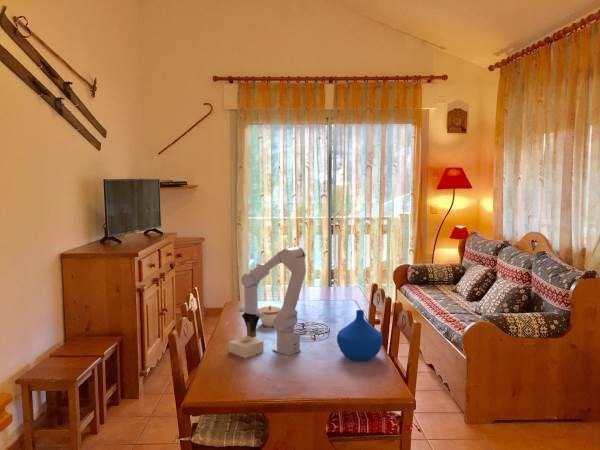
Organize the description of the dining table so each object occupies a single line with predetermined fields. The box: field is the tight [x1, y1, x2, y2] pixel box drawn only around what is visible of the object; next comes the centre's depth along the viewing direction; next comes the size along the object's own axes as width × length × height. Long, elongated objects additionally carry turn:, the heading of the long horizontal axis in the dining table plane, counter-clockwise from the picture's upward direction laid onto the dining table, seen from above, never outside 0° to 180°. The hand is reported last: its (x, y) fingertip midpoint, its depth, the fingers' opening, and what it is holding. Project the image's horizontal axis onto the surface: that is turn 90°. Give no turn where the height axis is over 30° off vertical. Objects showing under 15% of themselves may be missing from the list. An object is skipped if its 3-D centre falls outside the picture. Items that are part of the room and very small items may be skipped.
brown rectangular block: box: [246, 321, 257, 338], centre depth 208 cm, size 2×4×7 cm, turn 138°
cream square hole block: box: [228, 335, 264, 359], centre depth 197 cm, size 10×10×4 cm
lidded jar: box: [259, 305, 281, 328], centre depth 233 cm, size 11×11×9 cm
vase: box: [336, 309, 384, 363], centre depth 191 cm, size 18×18×19 cm
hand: (251, 330), depth 208 cm, fingers closed on brown rectangular block, 2 cm apart
